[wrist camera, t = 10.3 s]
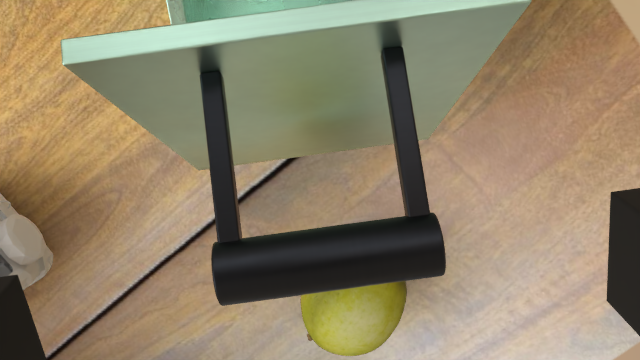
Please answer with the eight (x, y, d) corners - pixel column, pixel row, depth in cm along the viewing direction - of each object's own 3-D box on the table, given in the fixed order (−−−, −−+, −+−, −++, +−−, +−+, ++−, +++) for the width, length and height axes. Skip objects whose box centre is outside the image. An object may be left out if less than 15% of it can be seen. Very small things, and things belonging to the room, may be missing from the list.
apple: (278, 293, 52) (276, 348, 45) (343, 214, 50) (353, 258, 43) (349, 338, 54) (359, 399, 47) (415, 263, 52) (437, 314, 45)
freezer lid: (59, 38, 18) (81, 328, 17) (527, -24, 18) (583, 259, 17) (196, 157, 36) (211, 298, 35) (426, 126, 37) (449, 265, 35)
